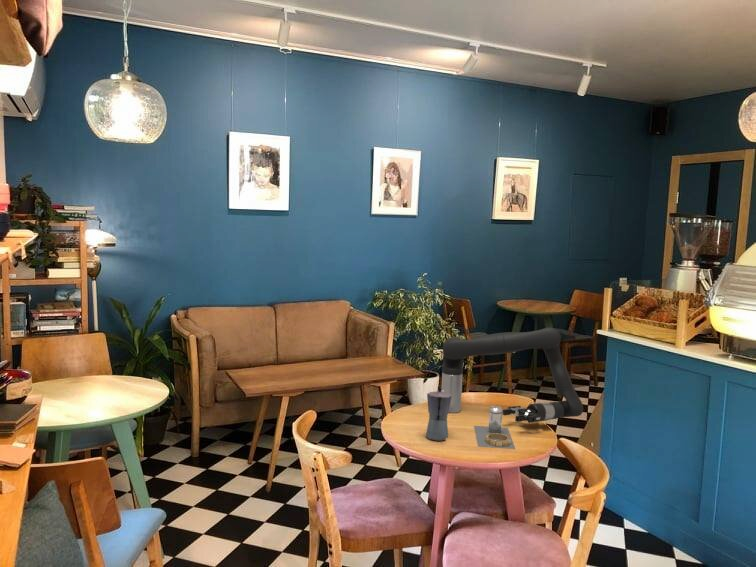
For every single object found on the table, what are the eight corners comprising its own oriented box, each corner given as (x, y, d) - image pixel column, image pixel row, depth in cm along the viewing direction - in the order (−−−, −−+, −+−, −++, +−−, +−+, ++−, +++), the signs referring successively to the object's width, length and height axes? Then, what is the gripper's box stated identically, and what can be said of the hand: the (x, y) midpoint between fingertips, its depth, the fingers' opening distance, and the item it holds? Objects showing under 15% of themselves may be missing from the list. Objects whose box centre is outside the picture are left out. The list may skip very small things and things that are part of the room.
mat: (477, 449, 222) (477, 446, 222) (473, 427, 246) (473, 425, 246) (515, 451, 221) (515, 449, 221) (507, 430, 245) (507, 427, 244)
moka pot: (447, 431, 240) (450, 383, 238) (451, 445, 225) (454, 394, 223) (424, 430, 240) (426, 382, 238) (426, 444, 225) (428, 393, 223)
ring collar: (486, 445, 223) (486, 440, 223) (484, 437, 232) (484, 432, 232) (511, 447, 222) (511, 442, 222) (508, 438, 231) (508, 433, 231)
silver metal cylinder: (488, 433, 237) (490, 409, 236) (487, 429, 242) (488, 405, 241) (501, 434, 236) (503, 410, 235) (500, 429, 241) (501, 406, 240)
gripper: (530, 398, 254) (499, 401, 247) (552, 408, 241) (520, 411, 235) (529, 415, 255) (498, 419, 248) (551, 426, 242) (519, 430, 235)
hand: (509, 415), depth 241 cm, fingers open, 8 cm apart
